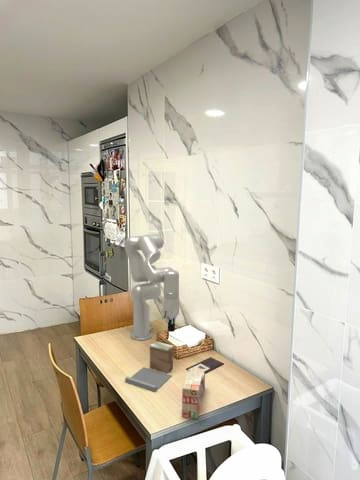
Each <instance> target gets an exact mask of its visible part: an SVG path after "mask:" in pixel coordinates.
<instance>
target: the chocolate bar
mask: <svg viewBox="0 0 360 480" xmlns="http://www.w3.org/2000/svg"><path fill="white" fill-rule="evenodd" d="M223 365H225V363H224V362H222V361H220V360H217V359H216V358H214V357H208V358H206V359H204V360H201V361H200V362H197V363H196V364H193V365H191V366H189V367H187V368H185V370H186V371H187V372H190V370H191V368H197V369H205V375H206V374H208V373H210V372H213V371H214V370H216V369H218V368H220V367H222V366H223Z"/></svg>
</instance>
